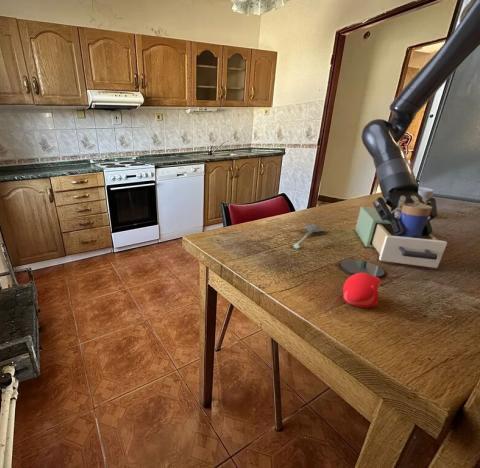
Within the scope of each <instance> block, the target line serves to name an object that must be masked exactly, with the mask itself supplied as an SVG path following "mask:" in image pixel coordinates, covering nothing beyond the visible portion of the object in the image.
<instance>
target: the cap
mask: <svg viewBox="0 0 480 468" xmlns="http://www.w3.org/2000/svg"><path fill="white" fill-rule="evenodd" d="M381 282H382V280H381V279H380V278H378V277H375V276H372V275H370V274H367V273H357V274H351V275H350V276H349V277H348V278H347V279H346V280H345V282H344V284H343V288H342V291H343V296H342V297H343V299H344V301H345V302H346V303H347V304H349V305H352V306H354V307H359V308H372V307H377V306H378V305H379V302H378V300H379V298H380V296H379V295H380V294H379V291H378V289H379V284H381Z"/></svg>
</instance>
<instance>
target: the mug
mask: <svg viewBox="0 0 480 468" xmlns="http://www.w3.org/2000/svg"><path fill="white" fill-rule="evenodd" d="M418 187H419V189H418V193H419V195H420V196H421V197H422V198H426V199H429V198H431V197H433V195H434V192H435V189H432V188H428V187H421V186H418Z"/></svg>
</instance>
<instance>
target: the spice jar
mask: <svg viewBox="0 0 480 468" xmlns="http://www.w3.org/2000/svg"><path fill="white" fill-rule="evenodd" d="M431 210H432V207H431V206H429V205H425V204H419V203H404V204H403V206H402V209H401V216H400V218H399V219H402V222H403V226H404V229H405V233H404V234H402V235H396V233H395V234H394V236H400V237H410V238H420V239H421V237H422V234H423V231H424V228H425V225H426V222H427V220H428V217H429V215H430V213H431Z"/></svg>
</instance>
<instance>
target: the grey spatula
mask: <svg viewBox="0 0 480 468" xmlns="http://www.w3.org/2000/svg"><path fill="white" fill-rule="evenodd" d="M304 229H306V230H307V232H306V234H304V236H303V237H302V238H301V239H300V240H298V242H297V243H293V248H294V249H300V248H301V247H300V246H301V244H303V242H304V241H305V240H306V239H307V238H308V237H309V236H310V235H311V234H312V233H319V232H325V231H326V229H325V228H324V227H323V226H321V225H317V224H306V225H305V226H304Z"/></svg>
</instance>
